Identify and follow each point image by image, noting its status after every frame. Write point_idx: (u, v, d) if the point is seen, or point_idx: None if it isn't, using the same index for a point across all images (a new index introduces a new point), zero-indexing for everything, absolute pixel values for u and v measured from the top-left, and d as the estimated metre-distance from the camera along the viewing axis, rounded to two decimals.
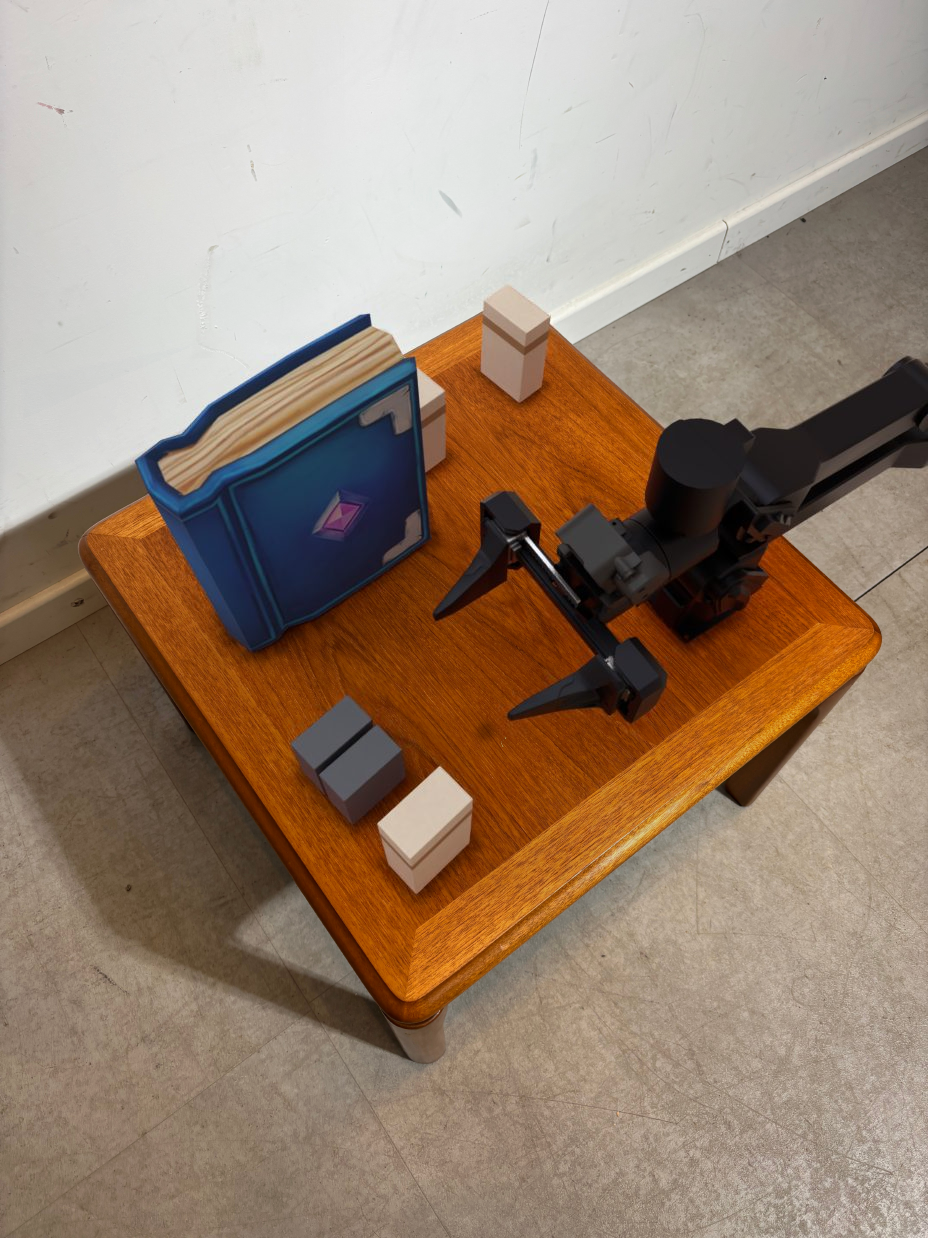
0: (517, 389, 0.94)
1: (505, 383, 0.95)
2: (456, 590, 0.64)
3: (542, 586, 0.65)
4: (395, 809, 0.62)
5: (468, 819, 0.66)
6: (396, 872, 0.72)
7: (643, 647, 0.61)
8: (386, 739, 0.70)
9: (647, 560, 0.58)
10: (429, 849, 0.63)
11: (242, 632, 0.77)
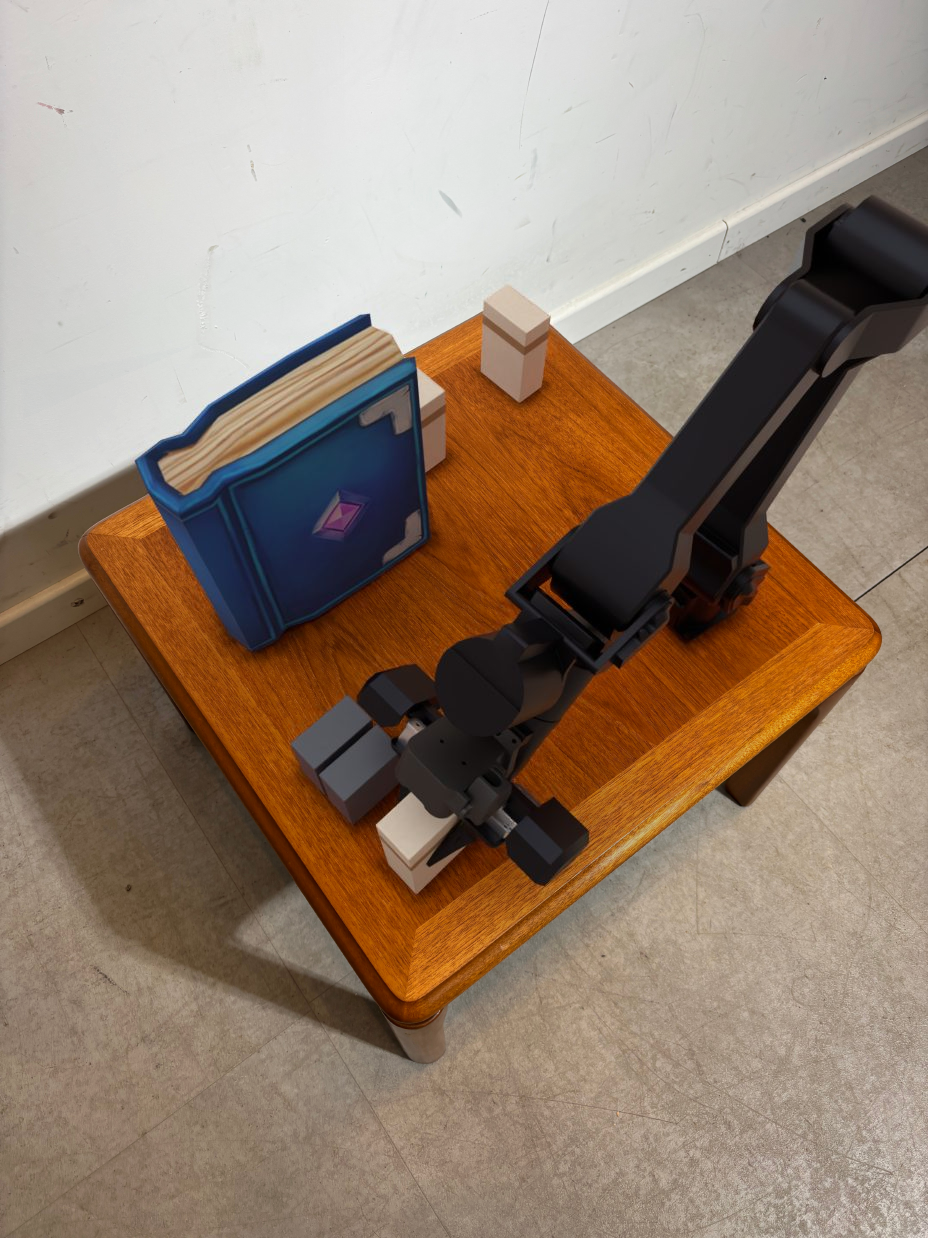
0: (517, 389, 0.94)
1: (505, 383, 0.95)
2: None
3: None
4: (394, 810, 0.62)
5: None
6: (396, 872, 0.72)
7: (533, 829, 0.59)
8: (386, 739, 0.70)
9: (478, 790, 0.55)
10: (428, 850, 0.63)
11: (242, 632, 0.77)
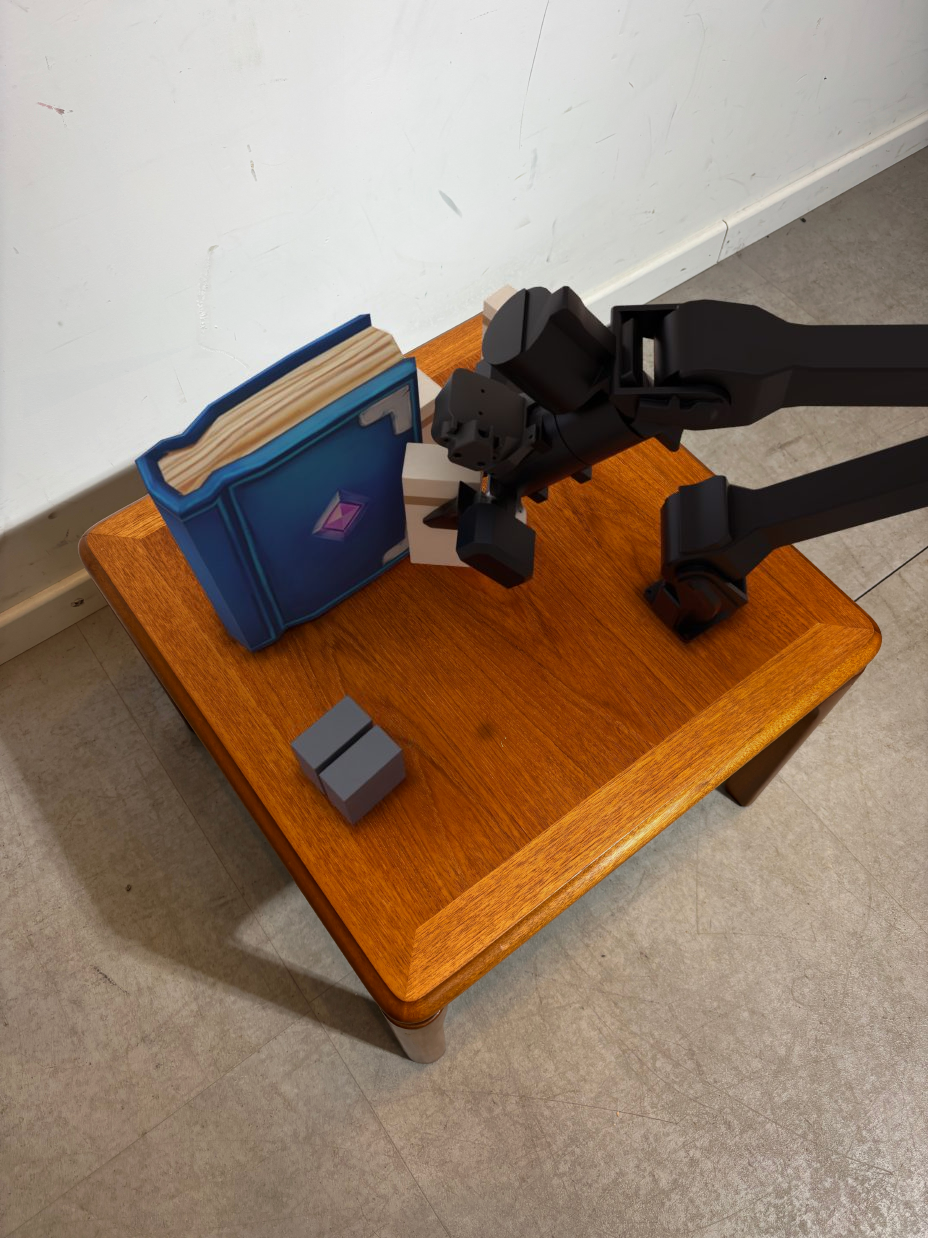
0: None
1: None
2: None
3: None
4: (427, 444, 0.69)
5: None
6: None
7: (489, 514, 0.63)
8: (386, 739, 0.70)
9: (467, 428, 0.60)
10: (425, 496, 0.70)
11: (242, 632, 0.77)
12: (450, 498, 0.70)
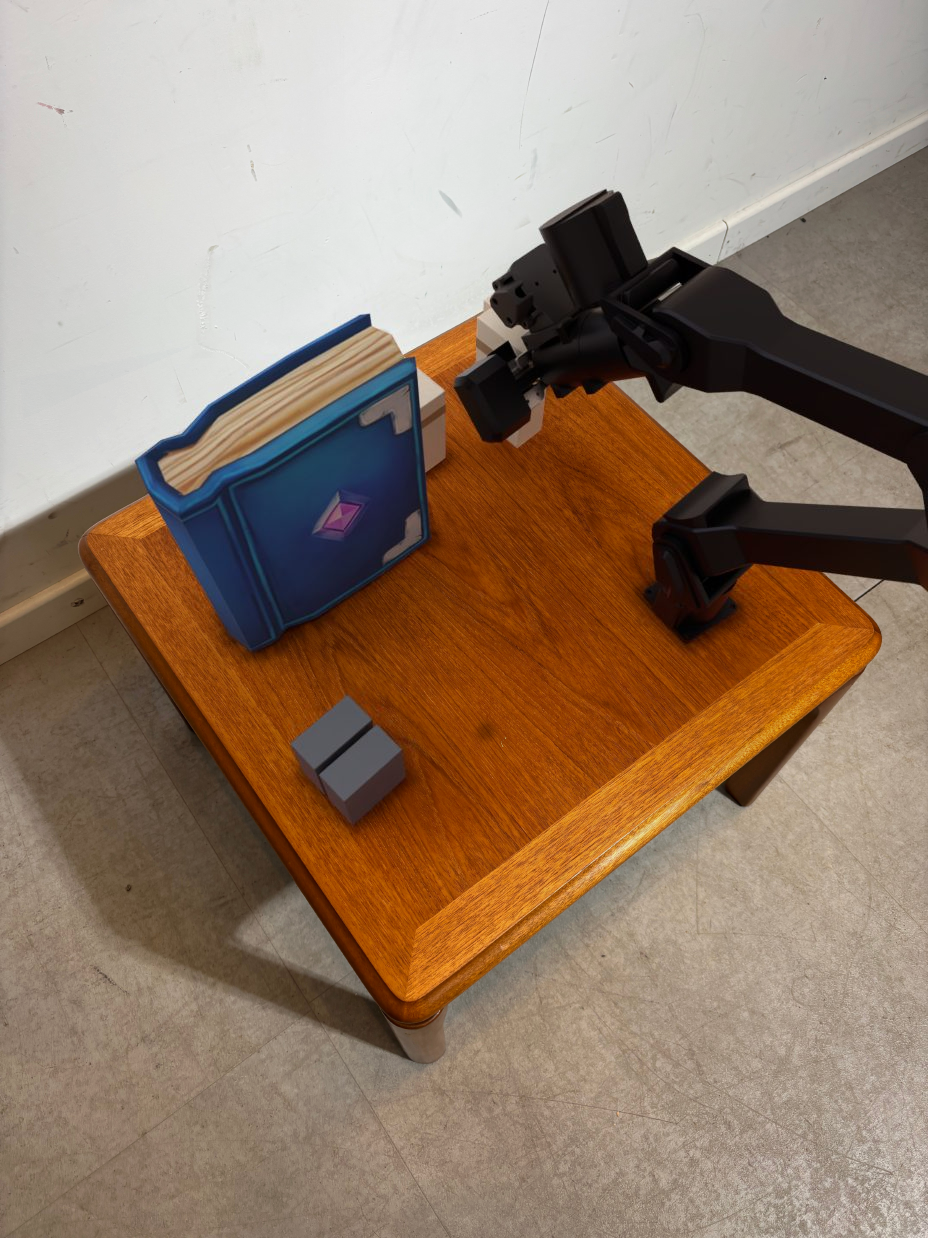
0: None
1: None
2: None
3: None
4: None
5: None
6: None
7: (495, 366, 0.72)
8: (386, 739, 0.70)
9: (512, 283, 0.69)
10: (489, 346, 0.80)
11: (242, 632, 0.77)
12: None
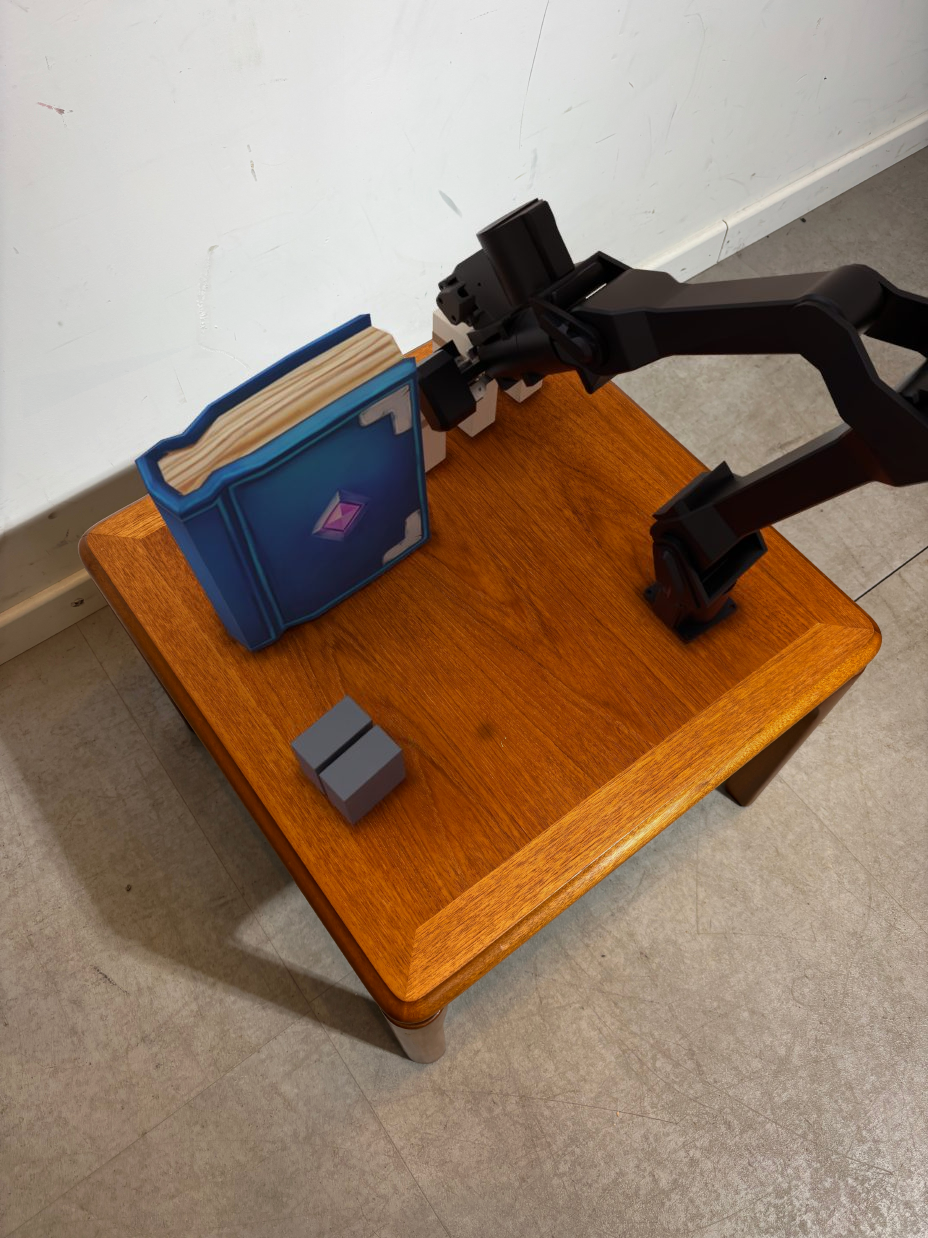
0: (517, 389, 0.94)
1: None
2: None
3: None
4: None
5: None
6: None
7: (441, 360, 0.78)
8: (386, 739, 0.70)
9: (456, 284, 0.75)
10: (444, 339, 0.85)
11: (242, 632, 0.77)
12: None
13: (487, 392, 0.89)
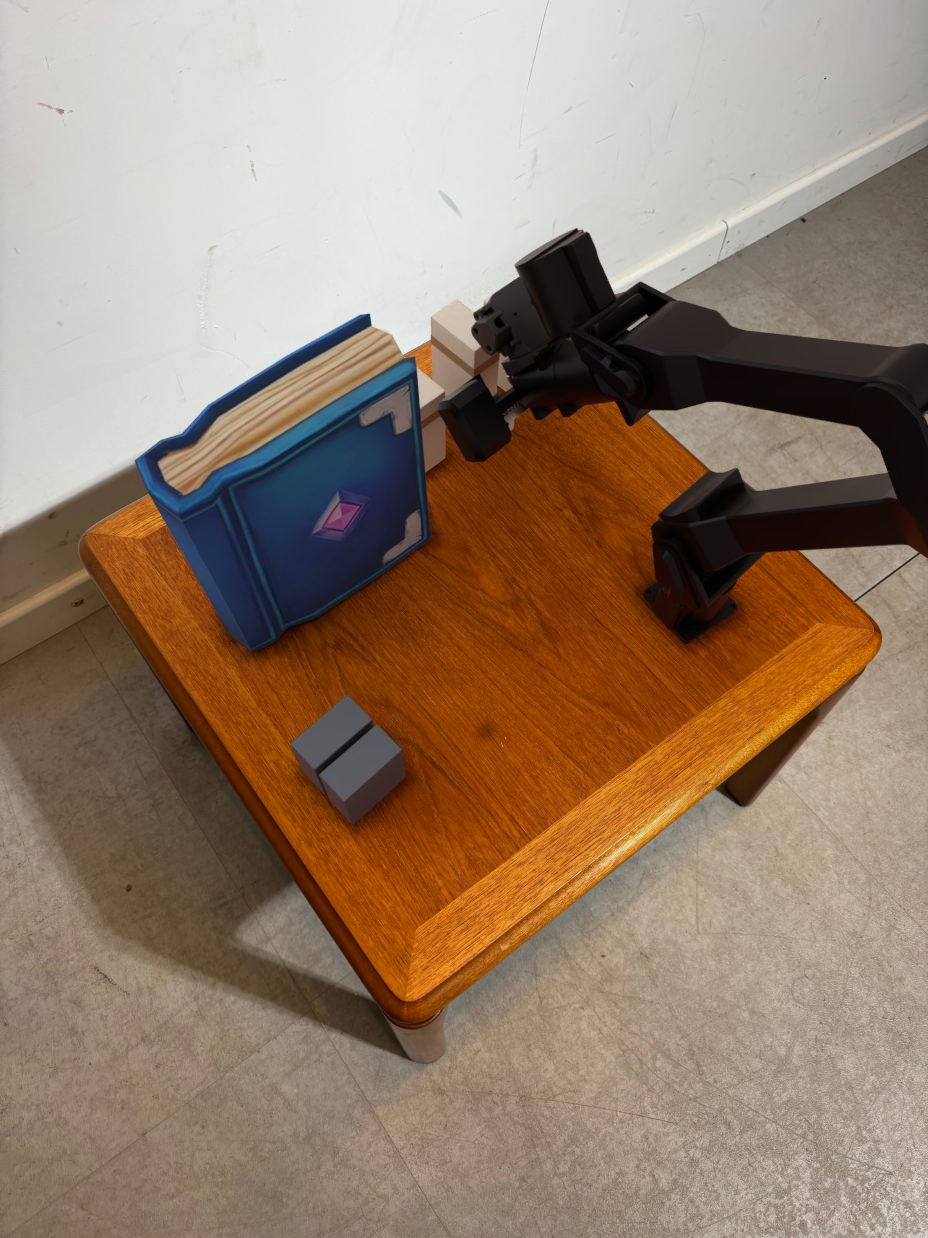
0: None
1: (505, 383, 0.95)
2: None
3: None
4: (467, 307, 0.84)
5: None
6: None
7: (476, 391, 0.76)
8: (386, 739, 0.70)
9: (492, 314, 0.74)
10: (443, 343, 0.85)
11: (242, 632, 0.77)
12: (456, 355, 0.85)
13: None
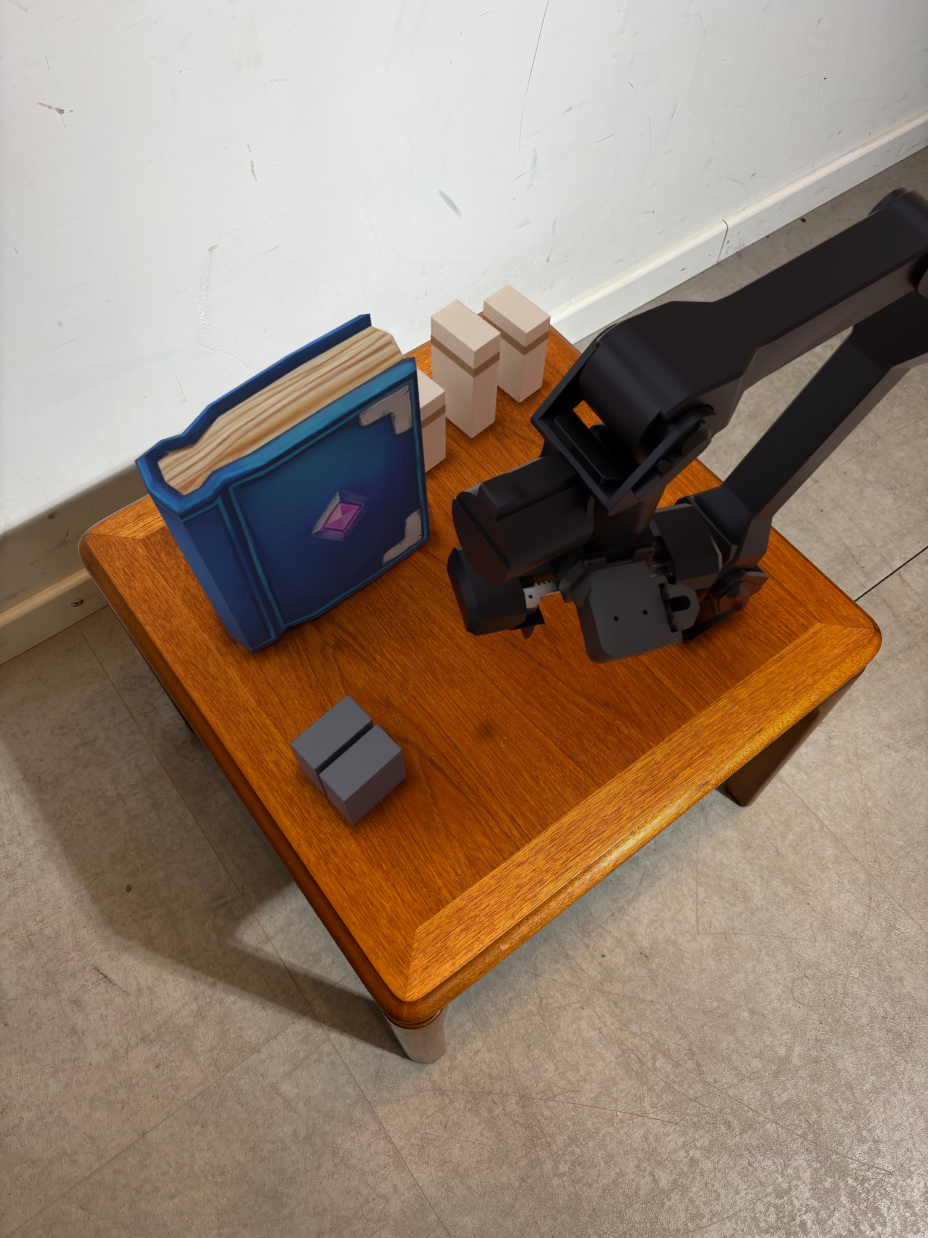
0: (517, 389, 0.94)
1: (505, 383, 0.95)
2: (527, 630, 0.67)
3: None
4: (467, 307, 0.84)
5: (470, 382, 0.86)
6: None
7: (688, 566, 0.62)
8: (386, 739, 0.70)
9: (679, 620, 0.57)
10: (443, 343, 0.85)
11: (242, 632, 0.77)
12: (457, 355, 0.85)
13: (486, 394, 0.89)
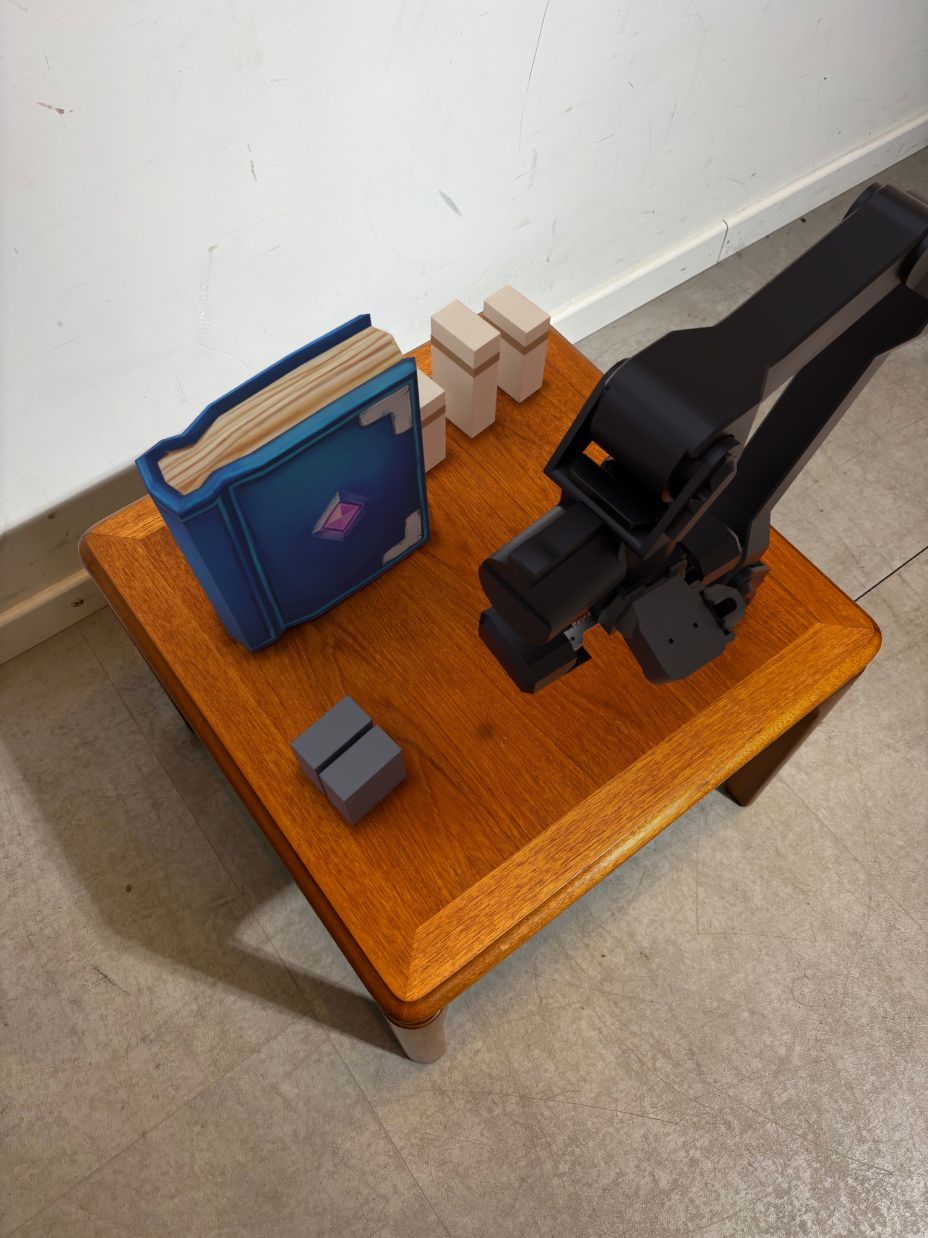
0: (517, 389, 0.94)
1: (505, 383, 0.95)
2: None
3: None
4: (467, 307, 0.84)
5: (470, 382, 0.86)
6: None
7: (711, 558, 0.61)
8: (386, 739, 0.70)
9: (730, 622, 0.56)
10: (443, 343, 0.85)
11: (242, 632, 0.77)
12: (456, 355, 0.85)
13: (486, 394, 0.89)
